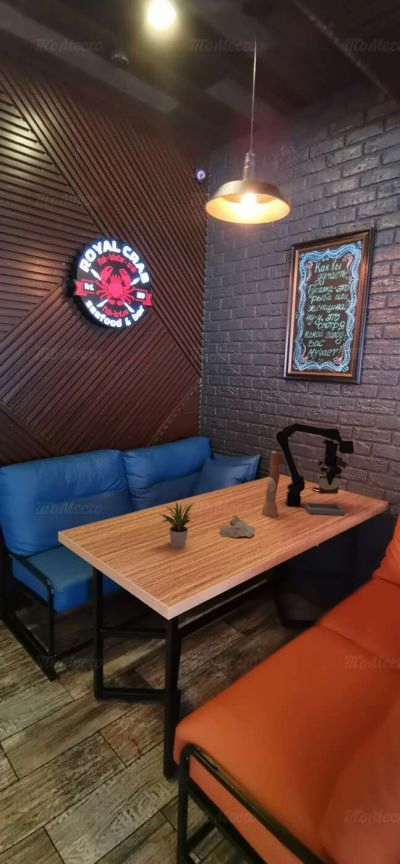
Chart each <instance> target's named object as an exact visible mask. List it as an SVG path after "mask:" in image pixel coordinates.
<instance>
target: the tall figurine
mask: <svg viewBox="0 0 400 864" xmlns="http://www.w3.org/2000/svg"><path fill="white" fill-rule="evenodd" d="M282 454H283V452H281V451H276V450H271V455H270V460H269V461H270V462H269V479H267V483H266V487H267V488H266V489H265V490H266V491H265V495H266V496H265V501H264V504H263V506H262V509H261V511H262V512H261V515H262V516H264V517H269V518H275V517H278V506H277V502H276V500H277V499H276V498H277V490H278V486H279V485H278V484H279V481H280V473H281V469H282V468H281V464H280V463H281V460H282Z"/></svg>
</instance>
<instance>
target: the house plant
mask: <svg viewBox="0 0 400 864" xmlns="http://www.w3.org/2000/svg"><path fill="white" fill-rule="evenodd" d="M174 502H175V507H174V505H172V504H170V505H171V507H172V508H173V509H172V508H171V507H169V506H167V505H164V504H162V506H164V507H165V508H166V509H168V510H169V511H168V510H166V509H165V511H167V512H169V514H170V515H171V516H168V515H166V514H163V513H158V514H159V516H162V518H165V519H163V520H162V521H161V522H160V523H165V522H169V523H170V525H172V526H170V527H169V528H168V529H169V539H170V545H171V547H173V548H178V549H179V548H183V547H185V545H186V542H187V538H188V534H189V533H188V532H189V528H188V527H186V524H188V523H193V524H194V521H191V519H192V517H190V516H189V515H191V513H192V512H193V510H191V509H192V508H193V505H195V504H196V503H193V502H192V503H191V504H188V505H186V506H185V507H184V508H183V510H182V504H180V505H179V504H178V502H177V501H176V500H175V501H174Z"/></svg>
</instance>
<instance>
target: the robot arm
mask: <svg viewBox="0 0 400 864" xmlns="http://www.w3.org/2000/svg"><path fill="white" fill-rule="evenodd" d="M296 432H303V433H307V434H312V435H318V436H321V437H324V439H323V440H321V443H322V444H325V447H324V453H323V454H322V455H323V459H319V460H317V464H316V465H317V466H318V468H319V471H320V472H323V471H326V476H327V481H328V485H331V483H332V481H333V479H334V477H335V475H337V474H341V475H342V474H343V469H344V470H345V469H346V467H347V465H348V462H347V461H344V460H343V457H340V456H338V455H337V454H338V453H340V454H343V455H353V454H354V452H355V448H354V441H353V440H350V439H349V440H346V439H345V440H343V438H342V437H341V433H340V431H339V429H337V428H335V427H333V426H315V425H310V424H304V423H298V422H297V421H293V422H292V423H290V424H289V425H287V426H285V427H284V428H282V429H277V430H276V431H275V432H274V439H276V441H277V444H278V445H279V446H280V448H281V451H282V454H283V457H284V460H285V462H286V464H287V465H286V466H287V469H288V471H289V476H290V482H291V483H289V484H288V485H287V486H286V488H287V491H286V496H285V498H286V499H285V501H284V503H285V505H286V506H287V507H301V502H302V496H301V492H303V491H304V489H305V487H306V481H305V479H304V476H303V474H302V473H299V472H298V469H297V467H296V464H295V463H296V462H295V461H294V457H293V455H292V452H291V449H290V445H289V443H290V442H289V437H291V436H292V435H293V434H294V433H296ZM335 441H336V442H335ZM341 467H342V468H343V469H342V468H341Z"/></svg>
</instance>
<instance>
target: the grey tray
mask: <svg viewBox="0 0 400 864" xmlns="http://www.w3.org/2000/svg"><path fill="white" fill-rule="evenodd" d="M303 508H304V509H305V511H306V512H307V513H308V515H317V516H319V515H320V516H343V517H344V516H345V510H344V509H343V508H342V507H341V506H340V505H339V504H338V503H328V502H327V503H324V502H323V503H322V502H321V503H320V502H303Z"/></svg>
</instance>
